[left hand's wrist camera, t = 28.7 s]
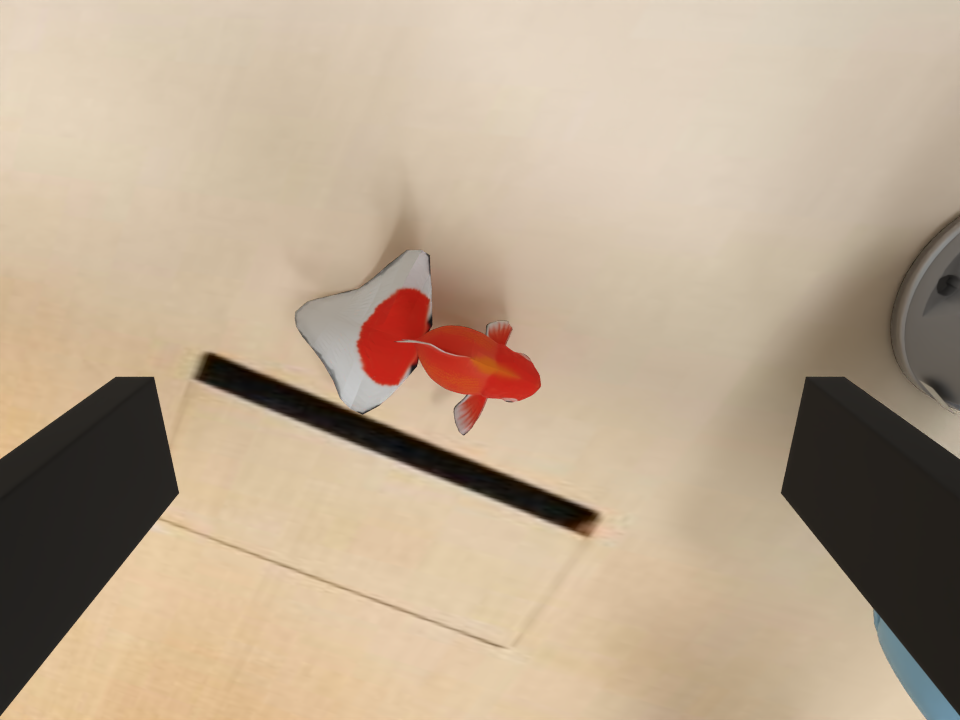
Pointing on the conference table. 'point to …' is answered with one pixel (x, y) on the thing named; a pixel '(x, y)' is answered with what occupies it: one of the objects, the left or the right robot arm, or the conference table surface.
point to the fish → (410, 344)
